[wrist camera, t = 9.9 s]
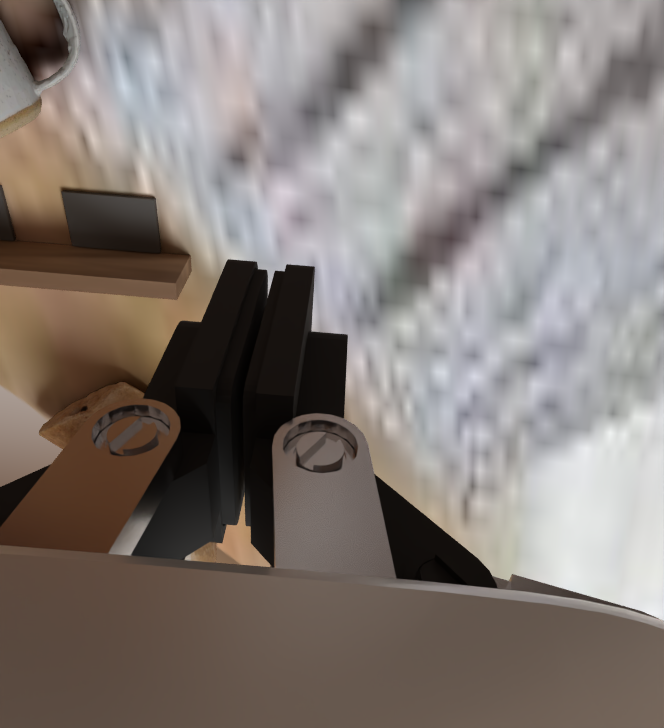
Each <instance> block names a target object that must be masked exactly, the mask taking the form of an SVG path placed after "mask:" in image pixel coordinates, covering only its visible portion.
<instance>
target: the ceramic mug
mask: <svg viewBox="0 0 664 728" xmlns="http://www.w3.org/2000/svg"><path fill="white" fill-rule="evenodd" d="M53 1H54V3H55V5H56V7H57V10H58V12H59V14H60V17H61V19H62V23H63V26H64V31H63V35H64V37H65V39H66V40H67V42H68V51H69V56H68V58H67V60H66V62H65V63H64V65H63V67H61V68H60V69H59V71H58V72H56V73H55V74H53V75H52V76H51V77H49V78H47V79H44V80H42V81H39V82H38V81H35V80H34V78H33V76H32V75H31V73H30V71H29V69H28V67H27V65H26V63H25V61H24V60H23V59H22V57H21V56H20V54H19V51H18V49H17V48H16V46H15V45H14V44H13V42H12V40H11V38H10V37H9V35H8V33H7V31H6V29H5V27H4V25H3V23H2V22H1V20H0V138H2V137H4V136H6V135H8V134H10V133H11V132H13V131H15V130H17V129H19V128H21V127H22V126H24V125H26V124H27V123H29V122H31V121H32V120H34V119H35V118H36V117H37V116H38V115H39V113H40V111H41V105H42V100H41V97H40V94H41V92H42V91H43V90H45V89H47V88H50V87H52V86H54V85H56V84H57V83H58V82H60V81H61V80H63V79H64V78H65V77H66V76H67V75H68V74H69V73H70V72H71V70H72V69H73V68H74V66H75V64H76V62H77V60H78V56H79V52H80V31H79V26H78V22H77V20H76V17H75V14H74V12H73V10H72V8H71V6H70V4H69V2H68V0H53Z"/></svg>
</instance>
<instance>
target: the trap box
mask: <svg viewBox="0 0 664 728" xmlns="http://www.w3.org/2000/svg"><path fill="white" fill-rule="evenodd" d="M61 193H62V198H63V202H64V207H65V212H66V217H67V222H68V227H69V232H70V237H71V242H72V245H62V244H50V243H38V242H27V241H15V240H16V237H15V234H14V230H13V226H12V222H11V218H10V215H9V211H8V207H7V203H6V199H5V196H4V192H3V188H2V185H0V285H8V286H20V287H32V288H44V289H55V290H67V291H79V292H91V293H103V294H115V295H126V296H138V297H150V298H162V299H174V300H177V299H178V297H179V295H180V293H181V291H182V289H183V287H184V285H185V283H186V281H187V279H188V277H189V275H190V273H191V271H192V269H191V256H190V255H180V254H168V253H161V244H160V235H159V226H158V217H157V208H156V198H149V197H137V196H125V195H113V194H102V193H90V192H78V191H66V190H63V191H62V192H61Z"/></svg>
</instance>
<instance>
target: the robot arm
mask: <svg viewBox="0 0 664 728" xmlns="http://www.w3.org/2000/svg"><path fill="white" fill-rule="evenodd" d="M314 274H315V267H312V266H300V265H288V264H287V265H286V269H285V272H284V271H275V273H274V277H273V280H272V284H271V288H270V292H269V295H268V274H267V270H260V269H258V266H257V262H253V261H241V260H229V259H228V260H227V262H226V264H225V267H224V269H223V272H222V274H221V276H220V279H219V281H218V283H217V286H216V288H215V291H214V293H213V295H212V298H211V300H210V303H209V305H208V307H207V310H206V312H205V314H204V317H203V319H202V322H192V321H180V322H179V324H178V325H177V327H176V329H175V331H174V334H173V336H172V338H171V340H170V342H169V344H168V346H167V348H166V350H165V352H164V355H163V357H162V359H161V361H160V363H159V365H158V367H157V369H156V371H155V373H154V375H153V378H152V380H151V382H150V384H149V386H148V388H147V390H146V392H145V394H144V396H143V399H141V398H137V399H128V400H122V401H119V402H116V403H112V404H109V405H107V406H105V407H104V408H102V409H100V410H98V411H96V412H95V413H94V414H93V415H92V416H91V417H90V418H89V419H88V420H87V421H86V422H85V423H84V424H83V426H82V427H81V428H80V429H79V431H78V432H77V433H76V434H75V435H74V437H73V438H72V439H71V440H70V442H69V443H68V444H67V445H66V447H65V448H64V449H63V450H62V452H61V453H60V454H59V455H58V456H57V458H56V459H55V460H54V462H53V463H52V464H51V465H49V466H46V467H44V468H42V469H40V470H38V471H35V472H33V473H31V474H28V475H26V476H24V477H22V478H20V479H17V480H15V481H13V482H11V483H9V484H6V485H4V486H2V487H0V728H664V621H663V620H660V619H658V618H656V617H654V616H651V615H649V614H647V613H645V612H642V611H639V610H635V609H632V608H628V607H625V606H621V605H618V604H614V603H611V602H607V601H604V600H600V599H597V598H593V597H590V596H587V595H583V594H580V593H576V592H573V591H569V590H566V589H562V588H559V587H555V586H552V585H548V584H545V583H541V582H538V581H534V580H531V579H527V578H524V577H520V576H517V575H513V574H512V575H511V578H510V580H509V581H507V580H504V579H500V578H497V577H493V576H492V575H491V573H490V571H489V570H488V569H487V568H486V567H485V566H484V565H483V564H482V562H481V561H480V560H479V559H478V558H477V557H475V556H474V555H473V554H472V553H470V552H469V551H468V550H467V549H465V548H464V547H463V546H462V545H461V544H459V543H458V542H457V541H456V540H454V539H453V538H452V537H451V536H450V535H448V534H447V533H446V532H445V531H443V530H442V529H441V528H440V527H439V526H437V525H436V524H435V523H434V522H432V521H431V520H430V519H429V518H428V517H426V516H425V515H424V514H423V513H421V512H420V511H419V510H418V509H417V508H415V507H414V506H413V505H412V504H410V503H409V502H408V501H407V500H406V499H404V498H403V497H402V496H401V495H399V494H398V493H397V492H396V491H395V490H393V489H392V488H391V487H390V486H388V485H387V484H386V483H385V482H384V481H382V480H381V479H380V478H379V477H377V476H376V475H375V474H374V471H373V466H372V461H371V456H370V452H369V447H368V443H367V441H366V439H365V436H364V434H363V433H362V432H361V431H360V430H359V429H358V428H357V427H356V426H355V425H354V424H352V423H351V422H349V421H347V420H345V419H344V404H345V383H346V362H347V341H348V335H346V334H334V333H322V332H311V326H312V309H313V292H314ZM244 492H245V522H246V526H251V544H252V545H253V546H254V547H255V548H256V549H257V550H258V551H259V553H260V554H261V555H262V556H263V557H264V558H265V559H266V560H267V561H268V562H269V563H270V565H271V566H270V567H261V566H249V565H237V564H224V563H213V562H201V561H195V554H194V551H196V550H198V549H199V548H201V547H202V546H204V545H206V544H207V543H209V542H214V543H222V542H223V538H224V534H225V529H226V525H237V523H238V520H239V515H240V511H241V506H242V502H243V497H244Z"/></svg>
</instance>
